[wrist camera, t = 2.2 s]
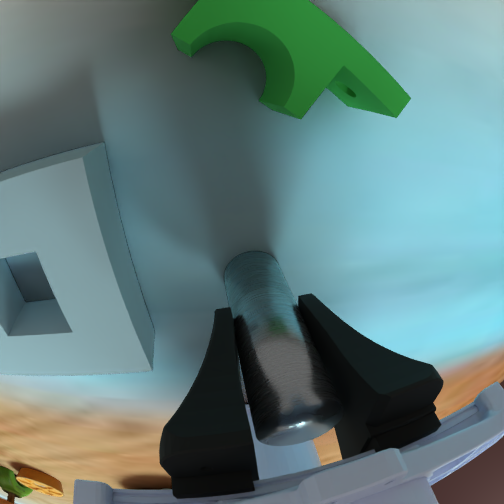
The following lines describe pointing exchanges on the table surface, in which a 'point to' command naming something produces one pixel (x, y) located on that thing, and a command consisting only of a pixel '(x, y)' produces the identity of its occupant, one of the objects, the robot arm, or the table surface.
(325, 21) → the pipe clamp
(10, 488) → the colorful stacking toy
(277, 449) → the robot arm
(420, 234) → the table surface
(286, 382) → the pin
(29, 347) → the socket board
